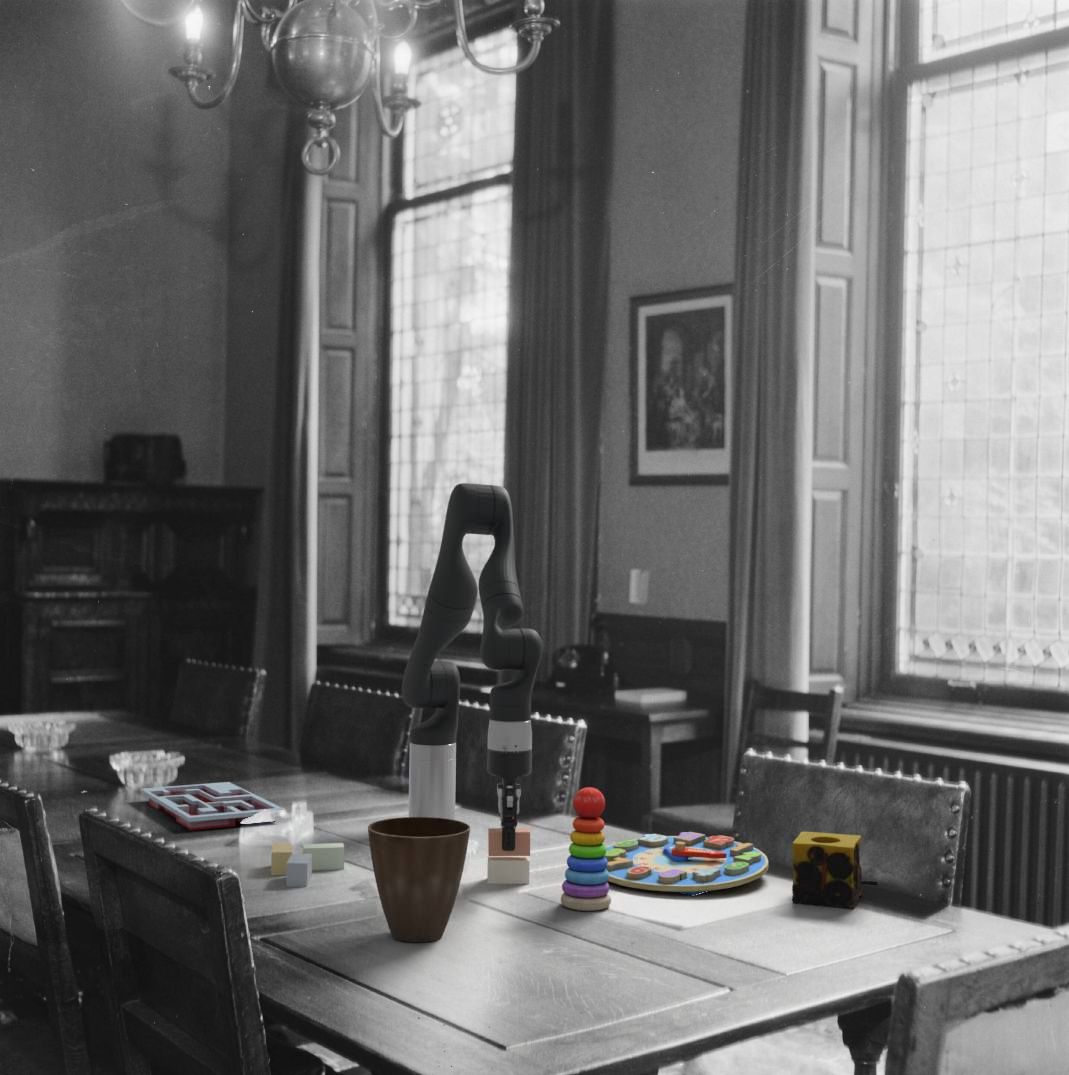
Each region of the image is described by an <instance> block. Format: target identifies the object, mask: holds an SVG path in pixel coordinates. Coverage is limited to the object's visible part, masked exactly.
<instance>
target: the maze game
mask: <svg viewBox="0 0 1069 1075" xmlns="http://www.w3.org/2000/svg"><path fill="white" fill-rule="evenodd" d="M139 790H140V791H139V792H140V793H141V794H142V795H144V796H145V797H147V798H148V805H149V804H150V805H151V806H150V805H149V806H150V807H152V806H153V808H154V807H155V808H156V809H155V808H154V809H155V810H157V809H158V810H157V811H159V809H164V810H163V812H165V811H166V812H165V813H167V814H169V815H171V816H172V817H174V818H175V822H177V823H178V824H180V825H182V826H183V827H185V828H187V829H188V830H190V831H195V830H207V829H218V828H227V827H229V828H230V827H236V824H238V825H240V822H241V821H242V820H243V819H245V818H248V817H251V816H253V815H254V814H256V813H258V812H260V811H261V810H264V809H268V810H283V809H284V808H283V807H281V806H279V805H277V804H276V803H273V802H271V801H269V800H267V799H265V798H263V797H261V796H259V795H256V794H254V793H252V792H250V791H248V790H246V789H245V788H243V787H241V786H238V785H236V784H234V783H232V782H231V781H226V782H225V781H224V782H211V783H199V784H197V783H195V784H183V785H174V786H173V785H172V786H169V785H168V786H161V787H160V786H158V787H157V786H155V787H145V788H144V787H143V788H140V789H139Z"/></svg>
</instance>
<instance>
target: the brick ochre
mask: <svg viewBox="0 0 1069 1075" xmlns="http://www.w3.org/2000/svg"><path fill="white" fill-rule="evenodd" d="M292 846H293V844H292V843H290V842H289V843H285V842H284V843H271V857H270V858H271V862H270V863H271V864H270V866H271V867H270V868H271V869H270V871H271V872H270V875H271V876H287V862H288V860H289V858H290V856H291V854H293V848H292Z"/></svg>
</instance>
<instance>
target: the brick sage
mask: <svg viewBox="0 0 1069 1075" xmlns="http://www.w3.org/2000/svg"><path fill="white" fill-rule="evenodd" d="M302 854H312V871H330V870H331V871H332V870H335V871H336V870H345V845H344V842H332V843H330V842H329V843H303V844H302Z"/></svg>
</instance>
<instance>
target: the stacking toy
mask: <svg viewBox="0 0 1069 1075" xmlns="http://www.w3.org/2000/svg"><path fill="white" fill-rule="evenodd" d="M605 807H606V799H605V797H604V795H603V793H602V792H601V791H600V790H599V789H598V788H595V787H589V786H588V787H584V788H581V789H579V790H578V791H577V792H576V794H575V795H574V798H573V808H574V811H575V813H576V814H577V815H578V817H575V818H574V819H573V820H572V828H573V829H574V830H573V831H572V832H570V836H569V838H570V841H571V843H570V845H569V846H568V851H569V854H570V855H569V856H568V857H567V858H566V865H567V866H568V868H566V870H565V872H564V877H565V880H564V881H563V882H562V883H561V884H562V885H561V889H562V892H563V893H562V894H561V896H560V903H561V904H562V905H563V906H564V907H565V908H566V909H567V908H568V909H570V910H575V911H582V912H594V911H601V910H605V909H606V908H608V907H609V906H610V905H611V903H612V898H611V895H610V894H609V892H610V885H609V883H608V881H607V880H608V878H609V872H608V871H607V869H605V868H606V867H607V865H608V861H607V859H606V858H605V857H604V856H605V854H606V851H607V849H606V844H604V842H605V839H606V837H605V834H604V832H602V830H604V828H605V821H604V819H602V818H601V817H600V816H601V815H602V814H603V812H604V810H605Z"/></svg>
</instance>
